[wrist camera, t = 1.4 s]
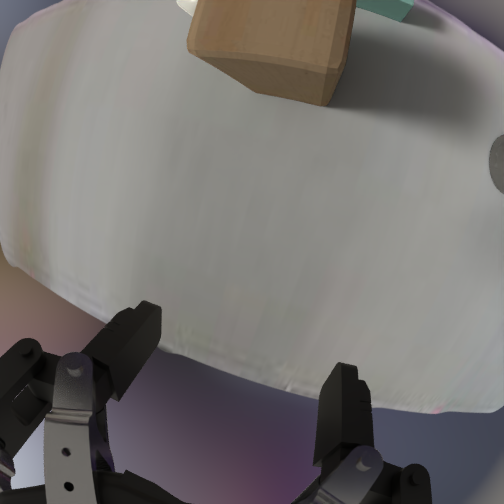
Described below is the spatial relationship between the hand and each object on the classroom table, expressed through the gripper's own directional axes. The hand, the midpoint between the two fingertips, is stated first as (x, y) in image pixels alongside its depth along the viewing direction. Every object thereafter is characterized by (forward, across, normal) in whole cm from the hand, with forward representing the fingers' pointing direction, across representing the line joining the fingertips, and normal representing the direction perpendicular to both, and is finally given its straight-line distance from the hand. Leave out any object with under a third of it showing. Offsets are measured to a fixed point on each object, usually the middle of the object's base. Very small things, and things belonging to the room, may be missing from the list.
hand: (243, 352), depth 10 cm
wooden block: (+28, +4, -17) cm, 33 cm away
